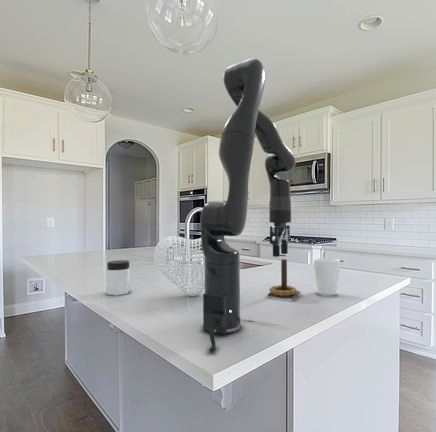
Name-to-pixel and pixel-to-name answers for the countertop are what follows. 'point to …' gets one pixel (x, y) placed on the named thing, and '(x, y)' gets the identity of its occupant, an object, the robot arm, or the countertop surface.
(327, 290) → the foam cup
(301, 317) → the countertop surface
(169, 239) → the heart
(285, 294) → the ring
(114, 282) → the jar
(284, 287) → the post
